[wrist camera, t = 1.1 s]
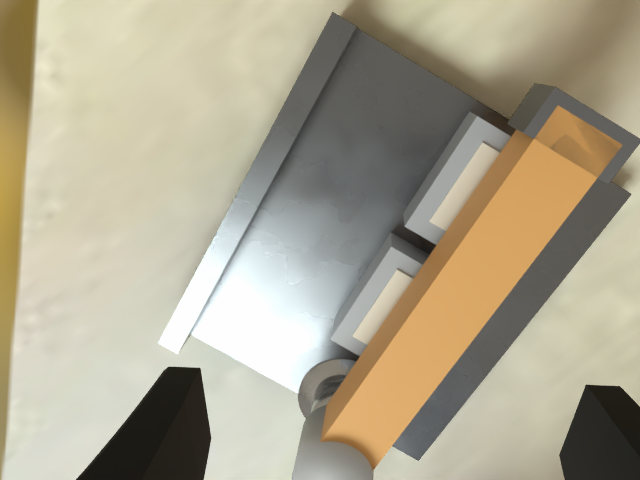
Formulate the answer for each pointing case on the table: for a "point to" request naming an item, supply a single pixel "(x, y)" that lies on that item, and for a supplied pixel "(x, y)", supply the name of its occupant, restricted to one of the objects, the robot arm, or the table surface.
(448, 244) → the swing bar
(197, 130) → the table surface
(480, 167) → the module
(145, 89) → the table surface
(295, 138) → the tray
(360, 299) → the block
